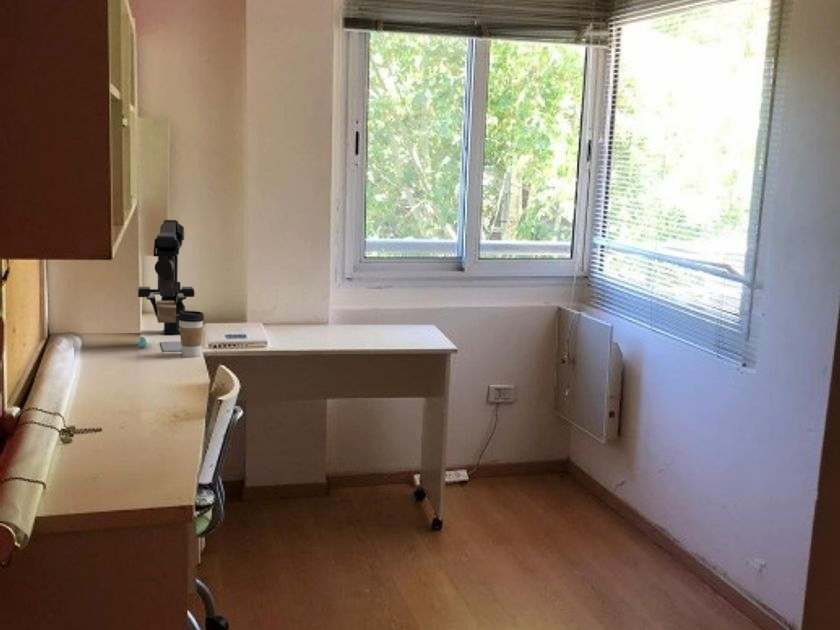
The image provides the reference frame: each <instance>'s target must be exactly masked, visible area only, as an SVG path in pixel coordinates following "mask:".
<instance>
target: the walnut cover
mask: <svg viewBox="0 0 840 630" xmlns="http://www.w3.org/2000/svg"><path fill="white" fill-rule="evenodd" d="M156 306H157V317H156V320H157V323H158V324H164V323H176V305H175V302H174V301H161V300H156Z"/></svg>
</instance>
